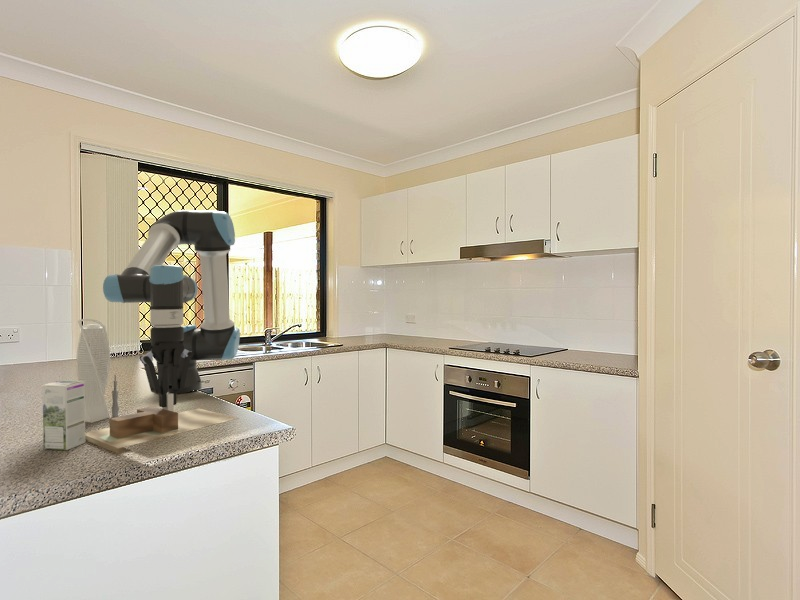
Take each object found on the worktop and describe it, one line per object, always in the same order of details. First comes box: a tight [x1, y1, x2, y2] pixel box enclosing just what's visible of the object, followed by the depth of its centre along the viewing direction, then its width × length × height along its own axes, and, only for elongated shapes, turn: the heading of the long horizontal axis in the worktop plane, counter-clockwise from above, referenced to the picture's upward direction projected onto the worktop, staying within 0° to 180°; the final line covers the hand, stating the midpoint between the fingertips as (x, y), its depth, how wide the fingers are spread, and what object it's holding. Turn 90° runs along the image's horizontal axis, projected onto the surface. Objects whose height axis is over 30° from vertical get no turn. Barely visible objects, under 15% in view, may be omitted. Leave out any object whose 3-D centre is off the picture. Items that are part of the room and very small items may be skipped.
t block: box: [109, 406, 179, 439], centre depth 110 cm, size 12×12×4 cm
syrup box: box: [42, 380, 87, 451], centre depth 102 cm, size 6×6×14 cm
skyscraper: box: [75, 318, 120, 424], centre depth 121 cm, size 8×8×28 cm
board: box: [85, 407, 239, 455], centre depth 115 cm, size 30×19×1 cm, turn 145°
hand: (168, 418), depth 116 cm, fingers closed
